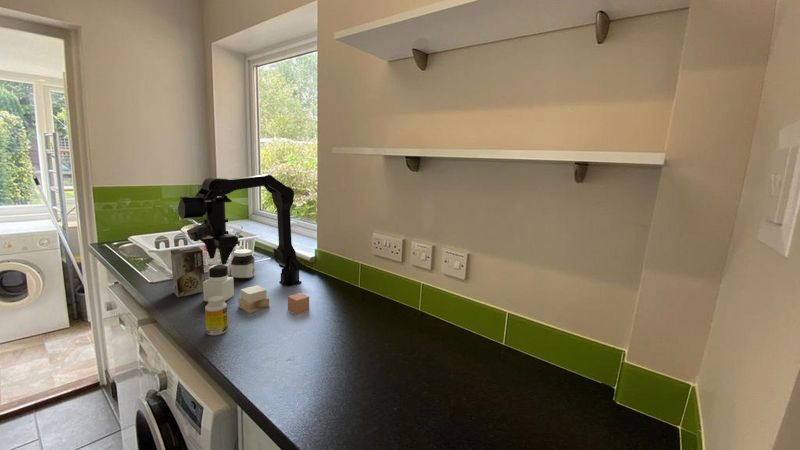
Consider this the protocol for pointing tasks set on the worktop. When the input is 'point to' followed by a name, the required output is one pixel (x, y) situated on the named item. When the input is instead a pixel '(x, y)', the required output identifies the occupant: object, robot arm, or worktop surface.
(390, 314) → the worktop surface
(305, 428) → the worktop surface
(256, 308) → the oak base block
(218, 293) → the medicine bottle
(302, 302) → the terracotta block
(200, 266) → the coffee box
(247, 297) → the cream block
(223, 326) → the supplement bottle
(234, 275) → the spread jar
